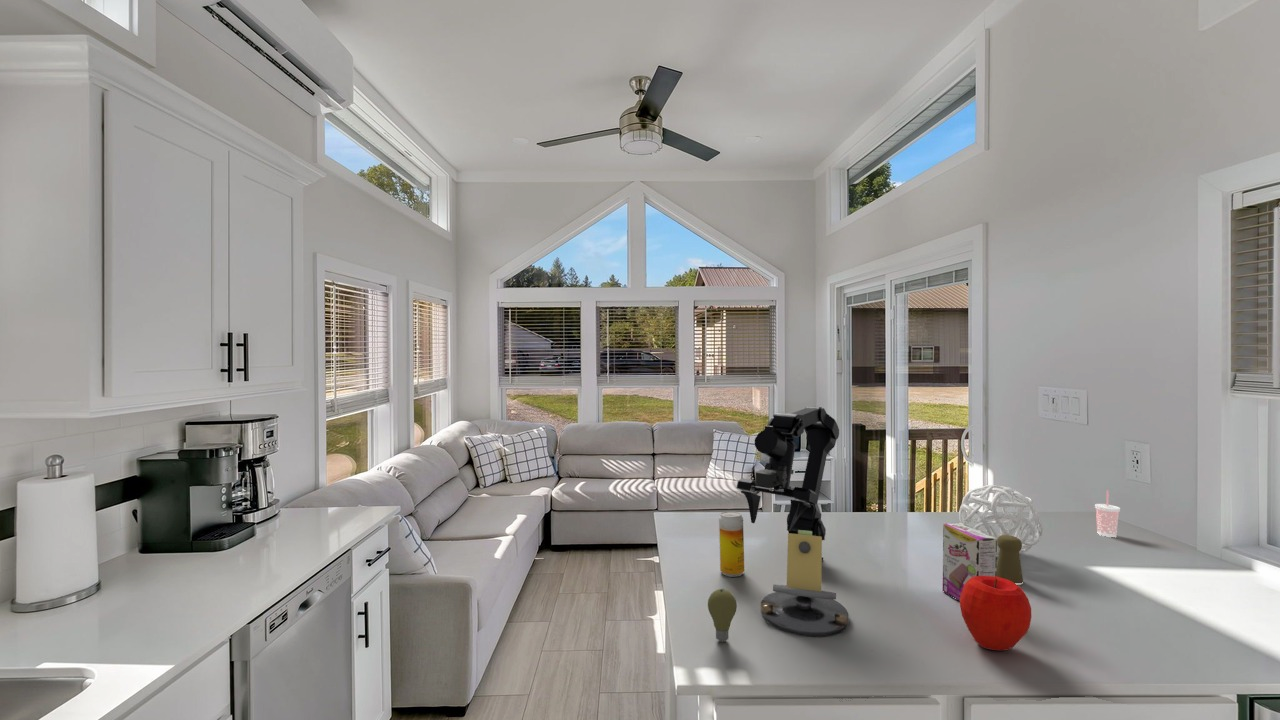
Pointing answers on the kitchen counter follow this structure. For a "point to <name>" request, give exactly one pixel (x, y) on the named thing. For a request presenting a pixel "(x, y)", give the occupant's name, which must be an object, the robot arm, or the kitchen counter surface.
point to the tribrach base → (804, 614)
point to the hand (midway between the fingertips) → (770, 526)
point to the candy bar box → (966, 556)
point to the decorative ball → (1019, 505)
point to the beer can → (731, 543)
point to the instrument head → (804, 567)
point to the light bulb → (722, 612)
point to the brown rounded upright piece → (1009, 558)
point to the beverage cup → (1107, 518)
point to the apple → (995, 611)
